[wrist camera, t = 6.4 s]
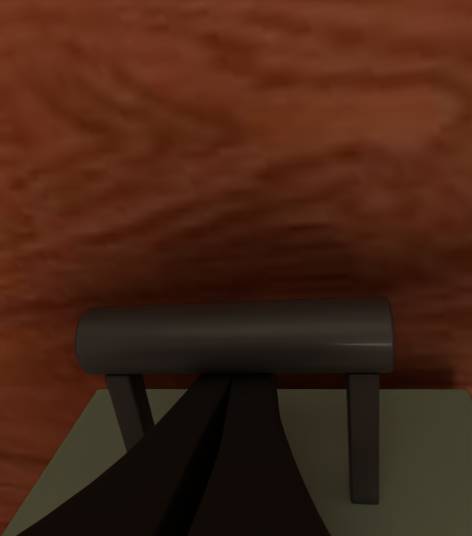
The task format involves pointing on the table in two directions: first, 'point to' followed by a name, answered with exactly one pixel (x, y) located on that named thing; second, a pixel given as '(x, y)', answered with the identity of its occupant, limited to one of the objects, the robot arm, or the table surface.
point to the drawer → (280, 408)
